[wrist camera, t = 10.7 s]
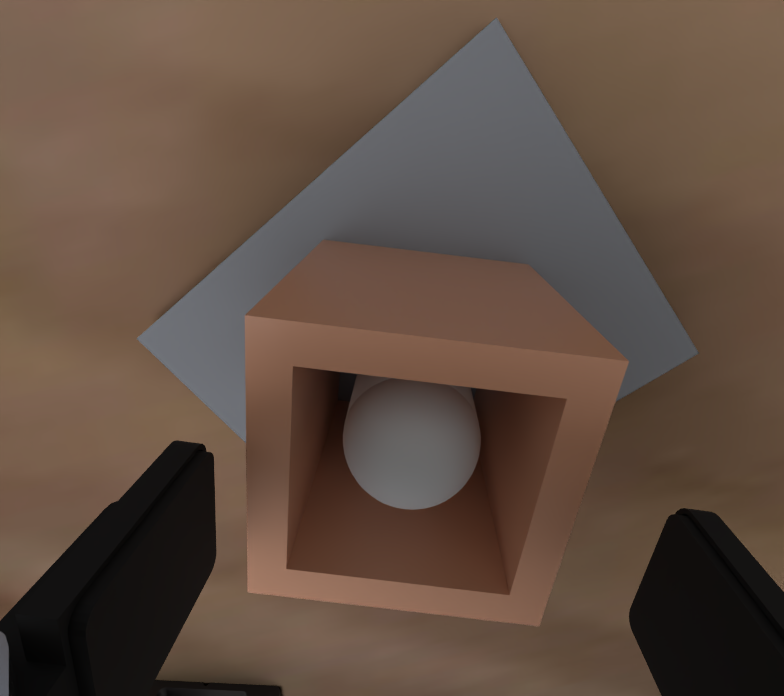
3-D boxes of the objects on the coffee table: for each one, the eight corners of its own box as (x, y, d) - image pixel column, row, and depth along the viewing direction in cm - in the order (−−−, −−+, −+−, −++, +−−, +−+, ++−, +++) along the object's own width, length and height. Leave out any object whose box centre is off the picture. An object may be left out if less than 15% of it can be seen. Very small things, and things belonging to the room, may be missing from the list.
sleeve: (528, 264, 16) (629, 361, 8) (489, 438, 19) (539, 626, 11) (323, 239, 16) (244, 315, 8) (313, 417, 19) (247, 592, 11)
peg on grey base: (677, 337, 18) (908, 499, 10) (362, 526, 23) (331, 752, 14) (488, 30, 15) (593, -141, 6) (156, 325, 19) (-52, 465, 10)
